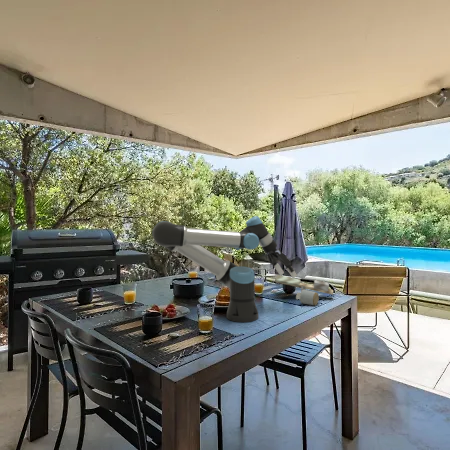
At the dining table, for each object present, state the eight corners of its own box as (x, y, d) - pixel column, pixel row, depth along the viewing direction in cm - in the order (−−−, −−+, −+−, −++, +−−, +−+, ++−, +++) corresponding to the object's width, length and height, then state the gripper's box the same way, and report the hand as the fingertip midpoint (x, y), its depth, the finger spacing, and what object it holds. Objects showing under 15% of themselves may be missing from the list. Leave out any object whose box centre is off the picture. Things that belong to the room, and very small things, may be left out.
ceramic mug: (314, 307, 174) (314, 292, 173) (299, 304, 178) (299, 290, 178) (321, 303, 182) (321, 289, 182) (307, 300, 187) (307, 287, 187)
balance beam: (274, 283, 191) (275, 275, 191) (277, 278, 206) (278, 271, 205) (333, 296, 183) (334, 288, 182) (332, 290, 197) (333, 282, 197)
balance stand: (296, 299, 190) (295, 286, 190) (297, 294, 201) (297, 282, 201) (310, 300, 188) (310, 287, 187) (310, 295, 199) (310, 283, 199)
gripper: (284, 238, 163) (306, 273, 166) (262, 239, 186) (282, 269, 189) (272, 247, 160) (295, 282, 163) (252, 246, 184) (272, 277, 187)
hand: (288, 275), depth 176 cm, fingers open, 13 cm apart
